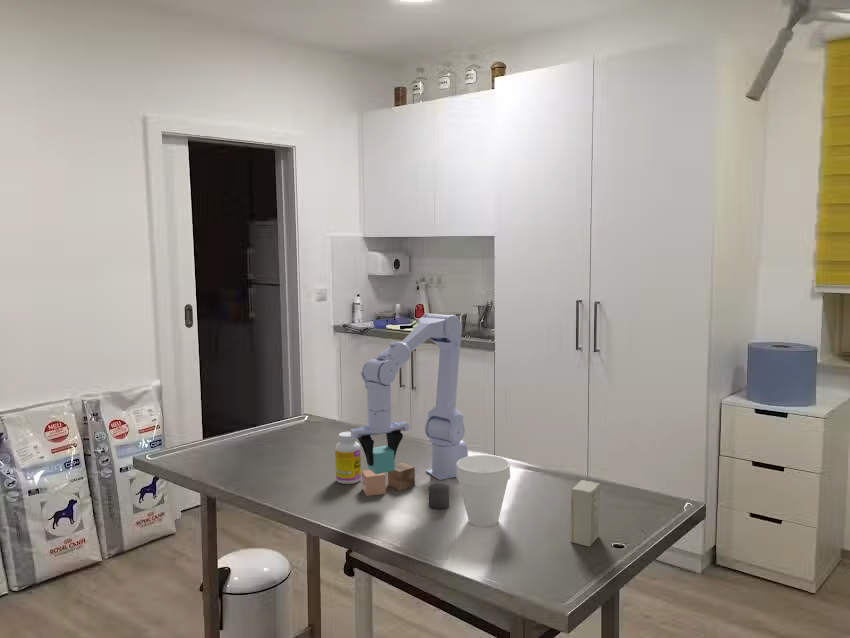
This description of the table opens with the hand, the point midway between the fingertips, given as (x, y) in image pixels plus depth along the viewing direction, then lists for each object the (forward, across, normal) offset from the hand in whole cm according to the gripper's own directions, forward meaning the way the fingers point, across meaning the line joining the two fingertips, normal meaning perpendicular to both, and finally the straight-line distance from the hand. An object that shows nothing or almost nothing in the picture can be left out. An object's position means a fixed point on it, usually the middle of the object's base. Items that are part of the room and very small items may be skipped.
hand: (380, 462), depth 177 cm
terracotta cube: (+10, -1, -8) cm, 13 cm away
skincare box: (+10, -30, +41) cm, 52 cm away
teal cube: (+2, 0, 0) cm, 2 cm away
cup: (+10, -16, +22) cm, 29 cm away
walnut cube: (+10, -9, -8) cm, 16 cm away
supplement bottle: (+10, +2, -18) cm, 21 cm away
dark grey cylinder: (+10, -11, +10) cm, 18 cm away
